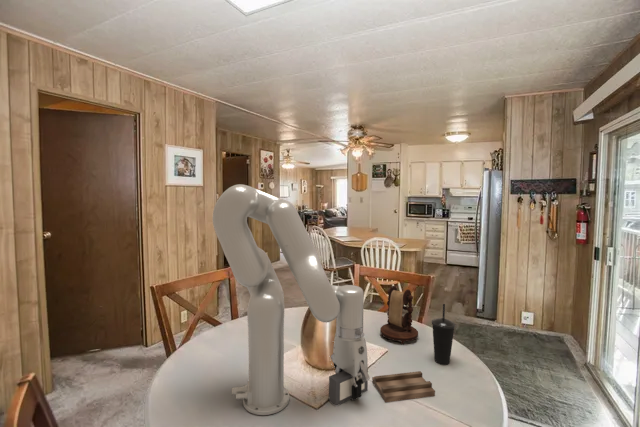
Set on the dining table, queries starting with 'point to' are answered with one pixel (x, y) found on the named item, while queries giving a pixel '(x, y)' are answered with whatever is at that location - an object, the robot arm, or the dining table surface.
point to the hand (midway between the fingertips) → (348, 391)
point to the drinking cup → (442, 338)
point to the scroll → (399, 317)
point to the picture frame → (342, 387)
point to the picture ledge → (403, 386)
